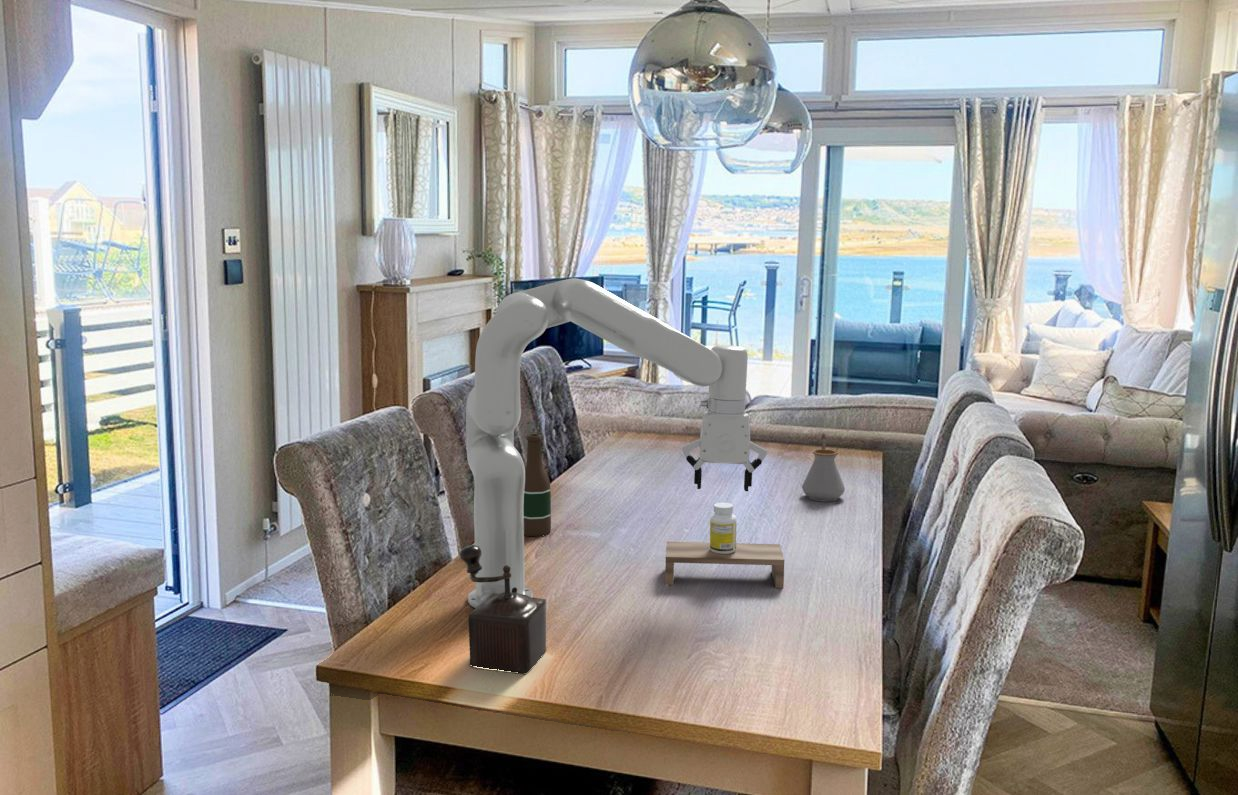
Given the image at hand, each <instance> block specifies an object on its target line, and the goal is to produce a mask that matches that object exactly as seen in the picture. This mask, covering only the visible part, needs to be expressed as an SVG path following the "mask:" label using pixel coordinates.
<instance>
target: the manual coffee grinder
mask: <svg viewBox="0 0 1238 795" xmlns="http://www.w3.org/2000/svg"><path fill="white" fill-rule="evenodd" d="M480 557H481V549H480V548H479V546H476V545H475V544H469V545H466V546H464V547H463V548H462V549H461V550H460V553H459V558H460V560H461V561H462V562H463V563H464V564H465V565H466V573H468V574H469V578H470V580H471V582H474V583H476V582H480V583H481V582H496V581H500V580H503V579H504V582H505V592H503V593H501V594H496V593H493V594H491V595H490V596H489V597H488V598H486V599H485V600H484V601H483V602H482V603H481V604H480V605H478V606H477V607H476V608H474V609H473V610H472V611H471V612H470V614H468V615H467V616H468V621H467V622H468V642H469V666H470V665H472V666H477V667H483V668H489V669H497V670H498V669H499V670H504V671H511V672H518V673H527V672H528V671H529V670H530V669H531V668H532V667H533V666H534V665H535V666H536V665H537V663H538V662H539V661H540V660H541V659H540V658H542V657H543V656H544V655H545V654H546V653H545V651H546V652H547V616H546V615H547V606H546V605H547V600H546V599H545V598H541V597H540V598H538V597H533V598H532V597H529V596H527V595H523V594H518V593H517V588H515V587H514V588H512V592H510V577H512V575H511V573H510V569H511V568H510V567H509V565H505V566H504V567H503V571H504V573H503V575H502V576H497V577H476V574H477V573H478V571H480V570H482V566H481V565H480V563H479V560H480ZM544 653H545V654H544ZM543 654H544V655H543ZM542 655H543V656H542ZM541 656H542V657H541ZM539 659H540V660H539ZM538 660H539V661H538ZM537 661H538V662H537ZM535 666H534V667H535ZM534 667H533V668H534ZM533 668H532V669H533ZM532 669H531V670H532ZM531 670H530V671H531ZM530 671H529V672H530ZM529 672H528V673H529ZM518 673H517V674H518ZM528 673H527V674H528Z"/></svg>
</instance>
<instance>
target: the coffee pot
mask: <svg viewBox="0 0 1238 795" xmlns="http://www.w3.org/2000/svg"><path fill="white" fill-rule="evenodd" d="M819 435H820V436H819V437H820V440H821V449H814V450H813V451H812V454H813V455H814V460H813V462H812V464H811V466H810V468H809V471H808V472H807V475H806V477H805V478H804V481H803V483H802V485H801V488H802V491H803V494H805V496H807V497H808V498H809V500H813V501H816V502H834V501H837V500H838V498H840V497H841V496H842V495H843V494H844V492H845V490H846V488H845V484H844V483H843V479H842V477H841V475H840V472H839V469H838V467H837V464H836V461H835V459H836V457H837V455H838V454H839V452H838V451H836V450H832V449H826V447H827V441H826V440H827V439H828V437H829V436H828V435H827V434H826V433H824V432H823V433H821V434H819Z"/></svg>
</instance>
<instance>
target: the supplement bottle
mask: <svg viewBox="0 0 1238 795" xmlns="http://www.w3.org/2000/svg"><path fill="white" fill-rule="evenodd" d="M733 513H734V505H733V504H732V503H730V502H716V503H714V504H713V514H712V515H711V516H710V518H709V519H710V520H709V526H710V527H709V529H710V530H709V532H710V533H709V543H710V550H711V551H712V552H714V553H718V554H730V553H733V552H735V551H736V543H737V516H736V515H735V514H733Z"/></svg>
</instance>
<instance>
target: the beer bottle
mask: <svg viewBox="0 0 1238 795" xmlns="http://www.w3.org/2000/svg"><path fill="white" fill-rule="evenodd" d="M525 439H526V441H527V449H526V452H527V453H526V465H525V488H524V535H526V536H525V537H528V536H542V537H544V536H543V535H545V536H547V535H550V534H551V532H552V514H551V513H552V512H551V511H552V509H551V507H552V505H551V503H552V502H551V498H552V497H551V496H552V495H551V493H552V492H551V491H552V490H551V489H552V488H551V481H550V477H549V475H548V473H547V471H546V470H545V468H544V465H543V455H542V440H543V439H542V435H541V434H539V433H531V434H527V435H526V438H525ZM549 533H550V534H549ZM546 534H547V535H546Z"/></svg>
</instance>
